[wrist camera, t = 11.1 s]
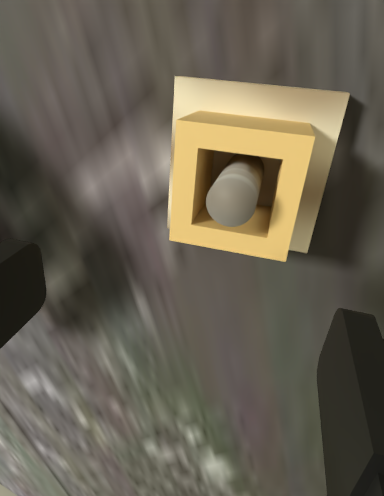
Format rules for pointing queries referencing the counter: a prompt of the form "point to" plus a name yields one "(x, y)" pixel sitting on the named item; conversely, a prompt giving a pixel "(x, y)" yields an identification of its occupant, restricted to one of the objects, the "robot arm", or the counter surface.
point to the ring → (243, 142)
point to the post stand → (256, 167)
